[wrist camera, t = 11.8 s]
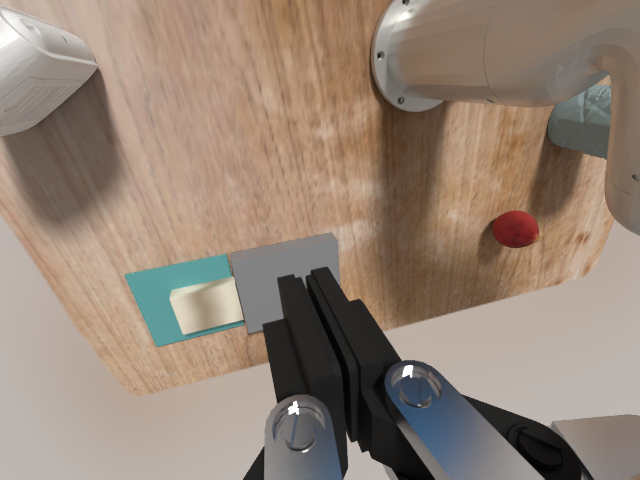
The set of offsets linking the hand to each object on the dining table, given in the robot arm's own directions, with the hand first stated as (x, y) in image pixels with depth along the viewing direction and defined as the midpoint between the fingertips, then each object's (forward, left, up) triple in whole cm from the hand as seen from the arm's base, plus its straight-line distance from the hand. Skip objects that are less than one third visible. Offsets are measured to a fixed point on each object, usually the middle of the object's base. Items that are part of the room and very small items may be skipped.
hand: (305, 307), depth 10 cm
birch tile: (+8, +19, -29) cm, 36 cm away
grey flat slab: (-3, +19, -29) cm, 35 cm away
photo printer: (+16, -8, -29) cm, 34 cm away
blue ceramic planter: (-49, +2, -29) cm, 57 cm away
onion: (-39, +17, -29) cm, 52 cm away
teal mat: (+11, +19, -29) cm, 36 cm away
